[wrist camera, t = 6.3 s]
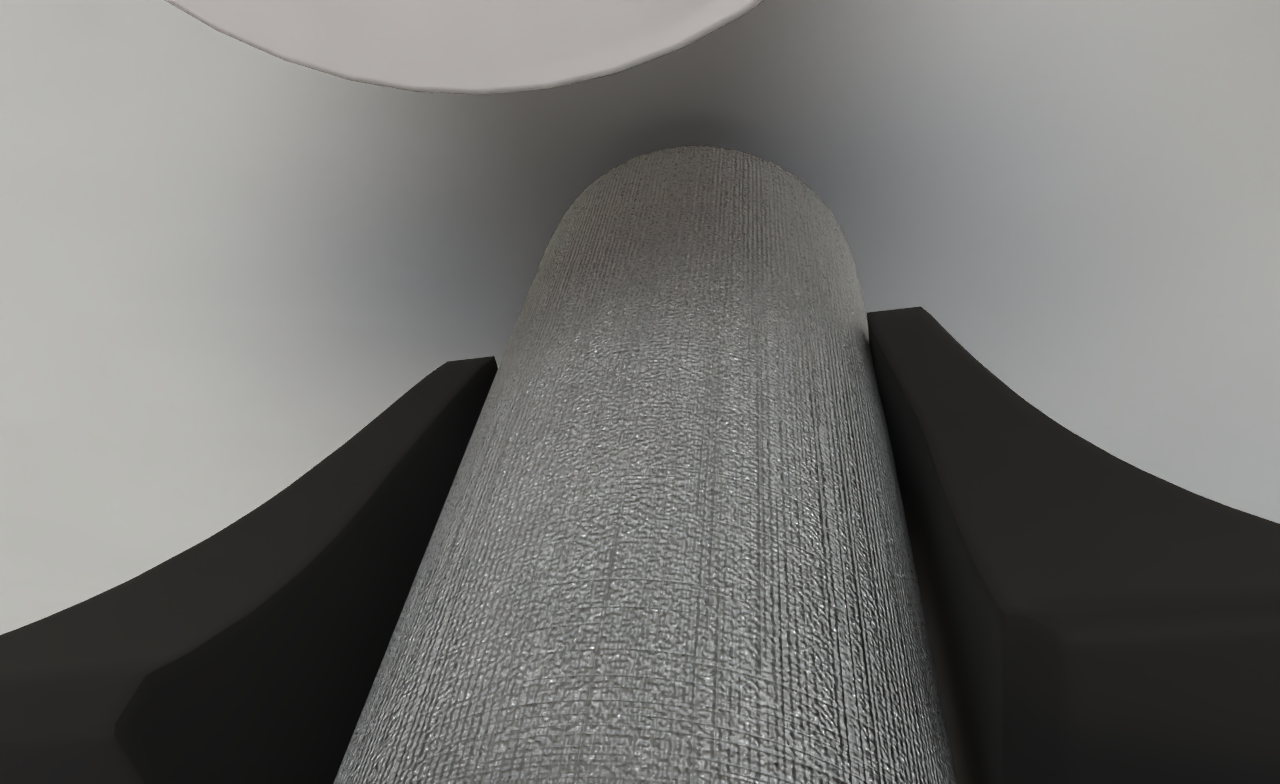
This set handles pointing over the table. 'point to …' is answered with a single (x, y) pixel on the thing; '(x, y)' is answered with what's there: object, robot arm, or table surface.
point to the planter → (671, 518)
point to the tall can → (467, 37)
